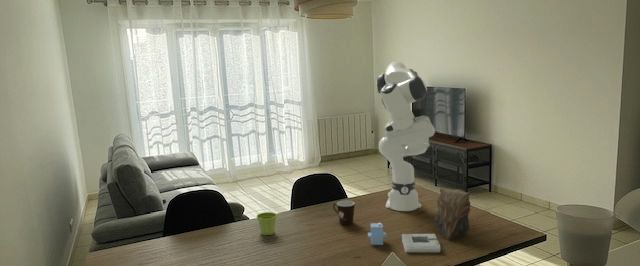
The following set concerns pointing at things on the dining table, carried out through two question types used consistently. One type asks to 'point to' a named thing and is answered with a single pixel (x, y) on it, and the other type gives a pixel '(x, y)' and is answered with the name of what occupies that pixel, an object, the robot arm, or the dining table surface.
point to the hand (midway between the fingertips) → (417, 148)
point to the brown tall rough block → (452, 213)
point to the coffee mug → (345, 212)
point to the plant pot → (267, 222)
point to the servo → (377, 234)
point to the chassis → (420, 243)
